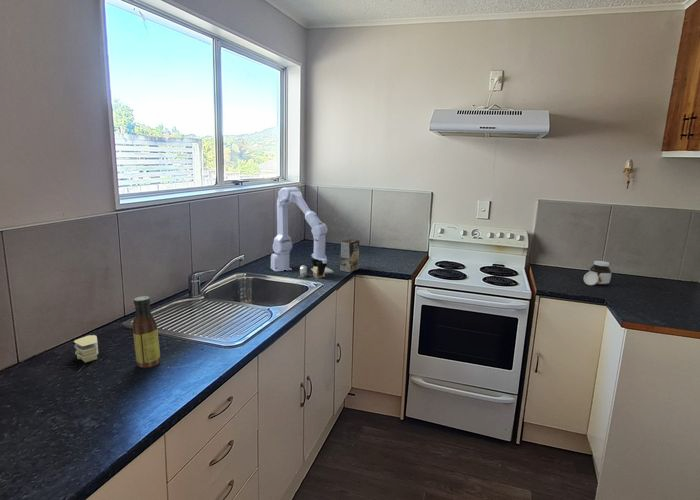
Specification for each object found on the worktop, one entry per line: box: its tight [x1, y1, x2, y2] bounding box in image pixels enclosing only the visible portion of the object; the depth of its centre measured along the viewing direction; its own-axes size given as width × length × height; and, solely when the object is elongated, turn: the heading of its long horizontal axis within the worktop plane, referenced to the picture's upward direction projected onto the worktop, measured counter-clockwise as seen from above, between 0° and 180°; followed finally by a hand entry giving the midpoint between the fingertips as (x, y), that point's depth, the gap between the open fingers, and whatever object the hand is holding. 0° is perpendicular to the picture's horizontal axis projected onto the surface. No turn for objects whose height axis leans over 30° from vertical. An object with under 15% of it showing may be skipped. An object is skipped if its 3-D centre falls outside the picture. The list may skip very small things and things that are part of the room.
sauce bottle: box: [132, 295, 161, 369], centre depth 122 cm, size 6×6×20 cm
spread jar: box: [583, 260, 612, 287], centre depth 223 cm, size 12×11×12 cm
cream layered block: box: [73, 334, 99, 363], centre depth 127 cm, size 10×9×6 cm
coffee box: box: [339, 238, 360, 273], centre depth 233 cm, size 9×6×16 cm
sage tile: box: [310, 266, 335, 274], centre depth 230 cm, size 9×9×1 cm
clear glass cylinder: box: [299, 265, 308, 278], centre depth 218 cm, size 4×4×5 cm
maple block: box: [312, 266, 326, 279], centre depth 219 cm, size 4×4×5 cm
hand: (318, 274), depth 219 cm, fingers closed on maple block, 4 cm apart
